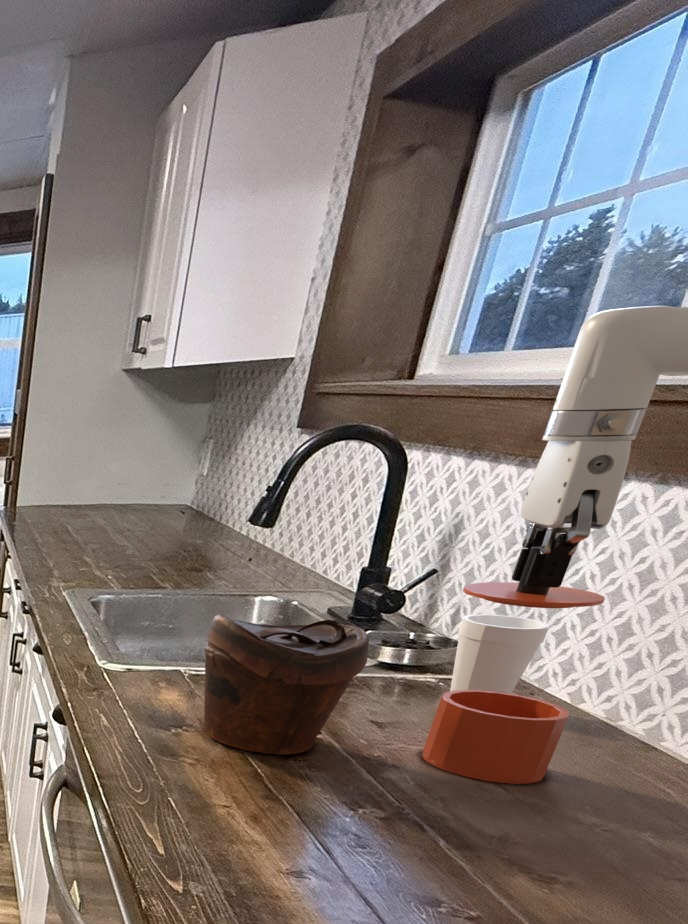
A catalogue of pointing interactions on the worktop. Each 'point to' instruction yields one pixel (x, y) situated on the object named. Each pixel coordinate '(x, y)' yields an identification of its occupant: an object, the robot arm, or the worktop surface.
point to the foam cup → (495, 651)
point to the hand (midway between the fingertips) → (535, 582)
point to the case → (277, 681)
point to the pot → (494, 736)
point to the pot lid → (533, 592)
